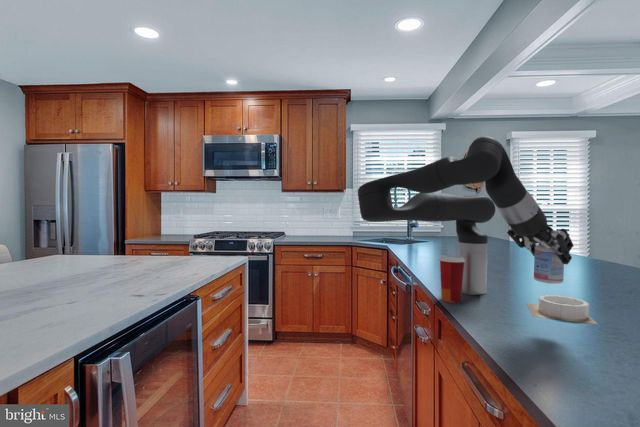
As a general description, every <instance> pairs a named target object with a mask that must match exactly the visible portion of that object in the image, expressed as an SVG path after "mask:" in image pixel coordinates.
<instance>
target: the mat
mask: <svg viewBox="0 0 640 427" xmlns="http://www.w3.org/2000/svg"><path fill="white" fill-rule="evenodd" d="M525 305H526V307H527V309H528V310H529V311H530V314H531V315H532V317H533V318H541V319H543V318H544V319H550V320H551V319H552V320H559V321H566V322H567V321H568V322H577V323H584V324H591V325H594V324H595V325H598V323H597V321H595V320H594V319H593V318H592V317H591V316H590V315H589V317H588V318H587V319H583V320H572V319H564V318H558V317H554V316H550V315H547V314H544V313H542V312H540V311H539V309H538V305H539V303H529V302H525Z"/></svg>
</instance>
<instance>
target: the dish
mask: <svg viewBox="0 0 640 427" xmlns="http://www.w3.org/2000/svg"><path fill="white" fill-rule="evenodd" d="M538 304H539V305H538V309H539V311H540V312H542V313H544V314H547V315H550V316H554V317H558V318H564V319H572V320H583V319H587V318H588V317H589V316H590V315H589V314H590V312H589V311H590V303H588V302H587V301H585V300H582V299H580V298H575V297H570V296H566V295H565V296H564V295H555V294H546V295H545V294H544V295H543V294H542V295H541V296H540V295H539V296H538Z"/></svg>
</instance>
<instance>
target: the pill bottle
mask: <svg viewBox="0 0 640 427" xmlns="http://www.w3.org/2000/svg"><path fill="white" fill-rule="evenodd" d="M551 241H552V238H551V239H550V241H549V242H548V243H549V244H550V243H551ZM555 246H556V247H557V248H559V245H557V244H556V245H555ZM533 257H534V258H533V260H534V263H533V279H534V280H535V281H537V282H540V283H544V284H551V285H553V284H554V285H555V284H562V283H564V273H565V268H564V267H565V264H563V263H562V261H561V260H560V258H559V257H558V255H557V253H556V252H554V251H553V250H552V249H547V248H546V247H545V246H543V245H542V244H539V243H537V245H536V246H535V256H533Z"/></svg>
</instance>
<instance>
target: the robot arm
mask: <svg viewBox="0 0 640 427" xmlns="http://www.w3.org/2000/svg"><path fill="white" fill-rule="evenodd" d="M480 183H485V184H484V185H485V186H484V187H485V191H486V193H487V195H488V196H489V197H488V196H486V195H463V196H460V195H455V194H449V193H443V192H440V191H442V190H445V189H449V188H451V187H453V186H462V185H470V184H471V185H472V184H480ZM395 188H402V189H406V190H409V191H413V192H416V193H417V194H415V195H413V196H412V197H410V199H409V200H408V201H406V203H404V204H402V205H401V206H399V207H397V208H396V207H394V206H393V200H392V194H391V190H392V189H395ZM357 197H358V198H357V199H358V205H359V212H360V213H359V214H360V216H361V219H362V220H363V221H366V222H368V223H369V222H370V223H371V222H372V223H378V222H379V223H381V222H382V223H383V222H399V221H401V222H402V221H403V222H404V221H410V222H412V221H413V222H427V223H428V222H430V223H431V222H433V223H436V222H438V223H439V222H451V221H455V228H456V236H457V238H458V240H457V243H458V244H457V245H458V246H457V247H458V248H457V255H459V256H463V258H464V260H465V262H464V270H463V281H462V293H461V294H465V295H471V296H480V295H485V294H486V293H487V282H488V281H487V280H488V279H487V277H488V275H487V274H488V244H489V243H488V241H489V240H488V239H489V238H488V235H487V234H486V233H484V232H482V231H481V230H480V229H479V228H478V227H477V224H483V223H487V222H489V221H491V219H493V218H494V216H495V213H496V208H497V210H498V212H499V213H500V215H501V216H502V218H503V219H504V220H505V222H506V223H507V225H508V226H509V229H508V231H507V232H506V233H507V234H508V236H509V237H510V238H511V239H512V240H513V242H514V243H516V245H517V246H518V247H519V248H521V249H523V248H525V249H526V250H527V251H529V252H530V253H531V254H532V256H533V257H534V256H535V246H536V245H537V244H542V245H543V246H545V247H546V248H547V249H552V250H553V251H554V252H556V253H557V255H558V257H559V258H560V260H561V261H562V263H563V264H564V265H569V264H570V262H571V261H572V258H573V256H572V255H571V254H570V251H571V250H572V248H574V243H573V241H572V239H571V237H570V235H569V233H568V230H567V229H565V228H561V229H560V230H554V229H553V228H552V227H551V226H550V225H549V224H548V221H547V220H548V219H547V216H546V214H545V213H544V211H543V210H542V209H541V206H540V205H539V204H538V203H537V201H536V200H535V199H534V197H533V195H532V194H531V193H530V192H529V191H528V190H527V189H526V187H525V186H524V185H523V183H522V181H521V180H520V178H519V177H518V176H517V174H516V172H515V170H514V167H513V165H512V163H511V159H510V157H509V155H508V153H507V151H506V149H505V147H504V146H503V145H502V143H501V142H500V141H499V140H497V139H496V138H493V137H491V136H480V137H477V138H476V139H474V140H473V141H472V143H470V145H469V147H468V151H467V154H466V155H465V157H463V158H461V159H457V158H456V157H454V156H446V157H442V158H440V159H438V160H435V161H433V162H430V163H428V164H426V165H423V166H421V167H418V168H415V169H412V170H409V171H404V172H400V173H395V174H393V175H387V176H385V177H381V178H377V179H374V180H371V181H368V182H366V183H363V184H362V185H360V186H359V187H358V189H357ZM551 238H552V241H551V243H550V244H549V243H548V242H549V241H550V239H551ZM556 244H557V245H559V248H557V247H556V246H555V245H556Z"/></svg>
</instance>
